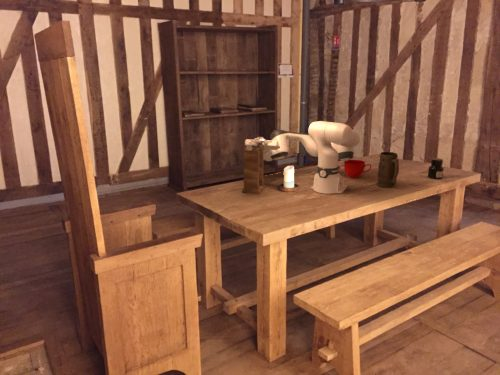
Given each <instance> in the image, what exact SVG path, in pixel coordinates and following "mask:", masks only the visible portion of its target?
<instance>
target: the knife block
mask: <svg viewBox="0 0 500 375" xmlns="http://www.w3.org/2000/svg"><path fill="white" fill-rule="evenodd" d="M246 145H247V144H246ZM244 146H245V145H244ZM264 162H265V160H264V145H262V142H259V146H258V145H255V146H254V149H253V150H252V151H250V150H246V146H245V147H244V148H243V189H242V190H241V193H243V194H253V195H255V194H256V195H260V194H261V193H262V191H263V190H265V187H266V186H265V185H264V164H265V163H264Z"/></svg>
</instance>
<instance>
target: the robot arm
mask: <svg viewBox="0 0 500 375" xmlns="http://www.w3.org/2000/svg"><path fill="white" fill-rule="evenodd" d="M307 130H308V133H305V132H297V131H288V130H285V129H274V130H273V131H272V132H271V133H270V135H269V138H270V140H268V139H265V138H263V139H262V142H263V143H262V145H264V162H265V161H266V162H271V161H281V160H284V159H285V158H287V156H289V147H288V141H287V140H291V141H298V142H300V143H301V144H302V145H303V147H304V148H305V150H306V152H307V153H308V154H309V155H310V156H311V157H314V158H315V157H317V166H316V173H315V174H314V179H313V185H311V187H310V188H311V189H313V190H314V192H316V193H319V194H328V195H329V194H342V193H344V191H345V190H346V189H347V188H348V186H347V184H344V177H343V175H341V174H340V169H341V165H339V161H340V162H341V161H342V162H344V161H348V160H353V158H354V155H355V153H354V148H355V147H357V146H358V145H359V143H360V142H361V137H360V134H359V133H358V132H357V131H356V130H354V129H352V128H351V126H350V125H348V124H345V123H342V122H332V121H324V120H319V121H318V120H317V121H312V122H311V123H310V125H309V127H308V129H307ZM256 138H257V137H256ZM256 138H254V139H256ZM254 139H247V138H246V139H245V140H244V146H246V144H248V143H250V142H251V141H253V140H254Z"/></svg>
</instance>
